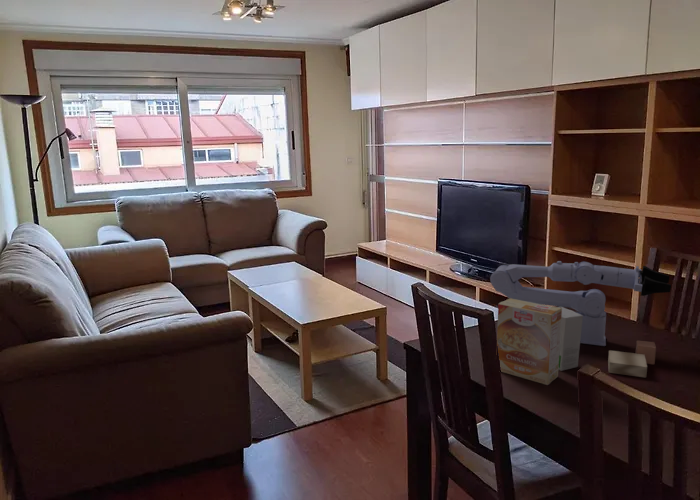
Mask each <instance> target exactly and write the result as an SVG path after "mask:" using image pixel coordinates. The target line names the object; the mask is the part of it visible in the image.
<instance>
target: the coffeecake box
mask: <svg viewBox="0 0 700 500" xmlns="http://www.w3.org/2000/svg"><path fill="white" fill-rule="evenodd" d="M497 305H498V306H497V309H498V310H497V329H496V330H497V333H496V334H497V335H496V347H497V346H498V353H499V360H500V367H501V372H502V373H504V374H508V375H510V376H511V375H512V376H515V377H518V378H521V379H525V380H529V381H532V382H535V383H539V384H541V385H545V386H548V385H550V384H551V383H552V382H553V381H554V380H556V379H557V378H559V369H558V368H559V351H560V333H561V317H562V308H557V307H558V306H550V305H542V304H537V303H532V302H526V301H521V300H516V299H511V298H507V299H506V300H504V301H500V302H499V303H498V304H497Z"/></svg>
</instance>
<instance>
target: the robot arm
mask: <svg viewBox="0 0 700 500" xmlns="http://www.w3.org/2000/svg"><path fill="white" fill-rule="evenodd" d="M522 278H549V279H550V280H551V281H553V282H570V283H571V282H573V283H574V282H579V283H580V284H582V285H585V286H587V285H591V284H596V285H597V284H598V285H604V286H608V287H609V286H611V287H617V288H618V287H619V288H624V289H625V288H626V289H632V290H633V292H639V293H640V296H641V297H642V296H643V297H645V296H649V295H653V294H663V293H670V292H671V288H672V284H670V283H669V282H670V275H668V274H666V273H665V274H664V273H662V272H658V271H656V270H654V269H651V268H650V267H648V266H646V265H643V266H642V269H641V268H640V266H639V265H636V267H635V268H634V269H632V268H623V267H617V266H609V265H607V266H606V265H598V264H597V265H596V264H593V263H591V262H588V261H581V262H578V261H574V263H570V262H569V263H567V262H562V261H561V260H558V261H556V262H553V263H552V264H551V265H549V266H547V265H546V266H545V265H544V266H541V265H530V264H529V265H528V264H515V263H514V264H513V263H512V264H509V265H508V264H502V265H499V266H498V267H496V270H495V271H493V272H492V273H491V275H490V277H489V280H490V283H491V286H492V287H493V288H494V290H495V291H496V292H499V293H501V294H502V295H503V296H505V297H506V298H507V299H509V298H511V299H516V300H521V301H526V302H532V303H537V304H542V305H547V306H552V307H564V308H567V309H568V308H569V309H573V310H575V312H576V313H578V314H581V315H583V320H582V329H581V339H580V344H584V345H591V346H592V345H593V346H599V347H600V346H601V347H605V346H607V340H606V335H605V333H606V321H607V312H606V311H605V308H606V305H605V304H606V301H607V299H606V294H605V293H604V291H602V290H600V289H598V288H597V289H596V288H592V289H588V290H578V291H570V290H569V291H567V290H559V289H551V288H550V289H549V288H539V287H530V286H523V285H522V284H521V283H520V281H519V280H520V279H522Z"/></svg>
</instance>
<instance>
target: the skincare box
mask: <svg viewBox="0 0 700 500" xmlns="http://www.w3.org/2000/svg"><path fill="white" fill-rule="evenodd" d="M556 307H557V308H562V317H561V333H560V351H559V368H558V371H561V372H563V371H565V370H566V371H567V370H570V369H574V368H578V367H579V360H580V359H579V356H580V347H581V343H580V339H581V329H582V320H583V315H581V314H578V313H576V312H577V311H574V310H571V309H570V308H569V309H568V308H567V307H559V306H556Z"/></svg>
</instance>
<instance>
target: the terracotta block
mask: <svg viewBox="0 0 700 500" xmlns="http://www.w3.org/2000/svg"><path fill="white" fill-rule="evenodd" d="M635 344H636V346H635V353H636V354H644V355H645V359H646V364H647V365H655V362H656V352H657V347H656V344H655V341H647V340H639V339H638V340H636V343H635Z"/></svg>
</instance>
